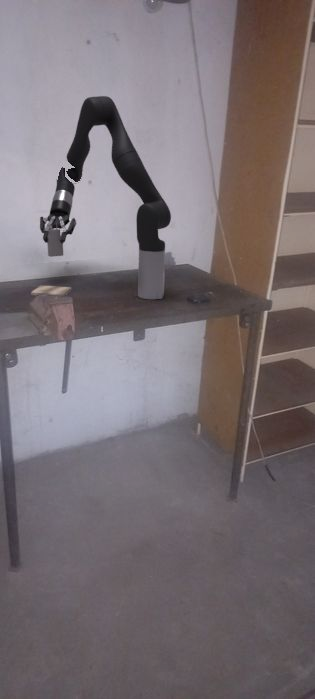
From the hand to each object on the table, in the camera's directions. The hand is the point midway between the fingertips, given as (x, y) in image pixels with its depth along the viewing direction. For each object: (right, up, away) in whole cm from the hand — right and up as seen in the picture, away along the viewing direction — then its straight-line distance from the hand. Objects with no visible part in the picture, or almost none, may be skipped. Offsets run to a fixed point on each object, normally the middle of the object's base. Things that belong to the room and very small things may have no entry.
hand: (53, 241), depth 193 cm
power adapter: (0, -5, +4) cm, 6 cm away
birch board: (0, -19, -3) cm, 20 cm away
